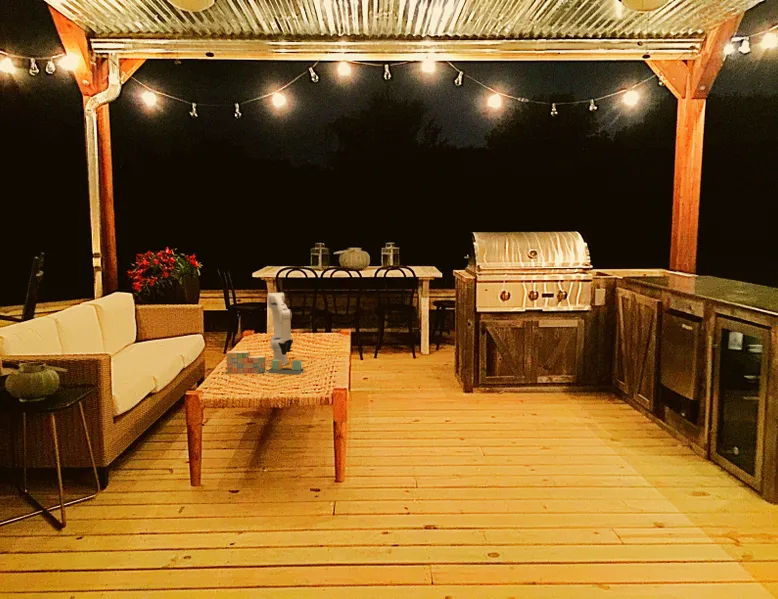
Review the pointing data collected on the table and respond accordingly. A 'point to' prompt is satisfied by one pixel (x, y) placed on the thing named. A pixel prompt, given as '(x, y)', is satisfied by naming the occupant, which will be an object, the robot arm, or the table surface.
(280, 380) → the table surface
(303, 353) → the table surface
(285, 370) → the rail
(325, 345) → the table surface
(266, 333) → the table surface
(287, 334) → the robot arm
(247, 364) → the stack of blocks
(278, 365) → the toy block
